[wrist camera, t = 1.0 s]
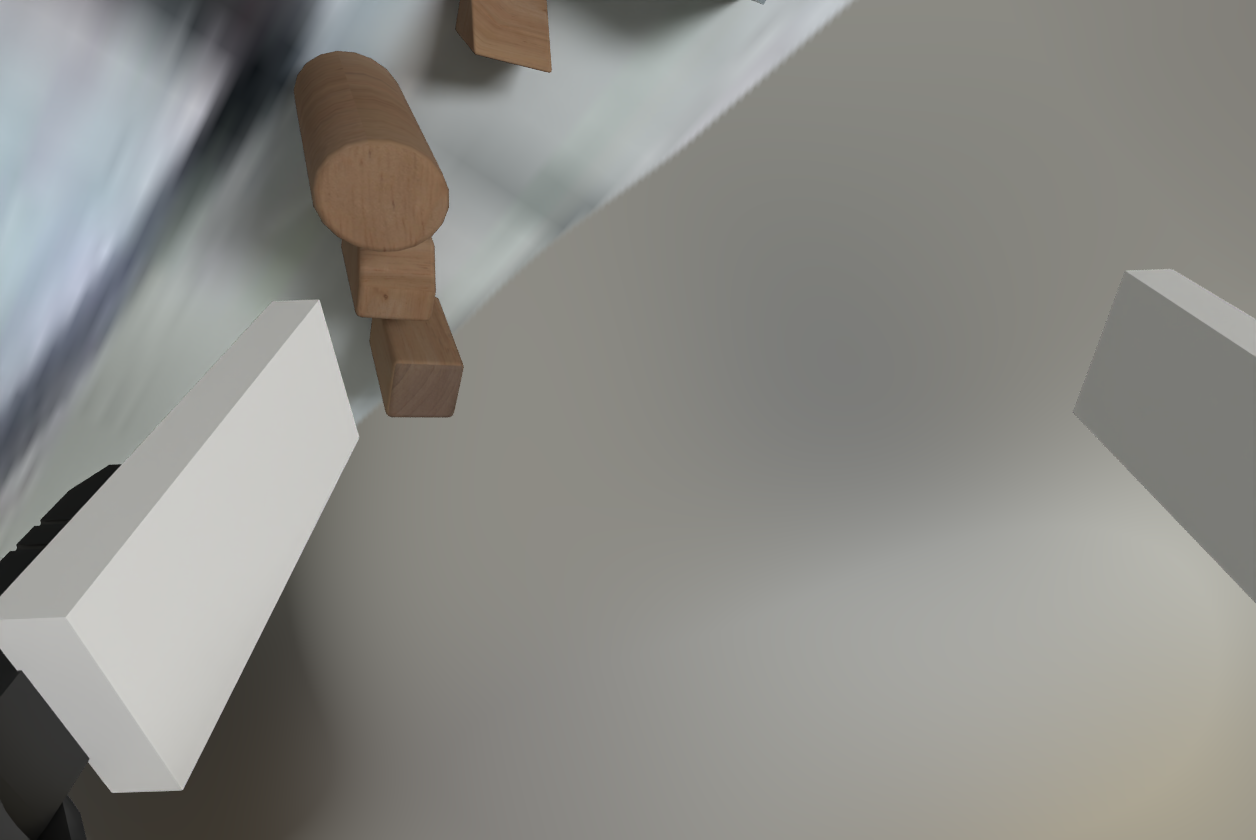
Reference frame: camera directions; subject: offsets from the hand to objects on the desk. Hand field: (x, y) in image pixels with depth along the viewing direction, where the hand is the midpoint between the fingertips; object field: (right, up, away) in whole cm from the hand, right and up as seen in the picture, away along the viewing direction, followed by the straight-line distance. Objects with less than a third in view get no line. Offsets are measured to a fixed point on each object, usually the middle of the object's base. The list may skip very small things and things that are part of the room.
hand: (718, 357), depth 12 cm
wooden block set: (-11, +10, +21) cm, 26 cm away
